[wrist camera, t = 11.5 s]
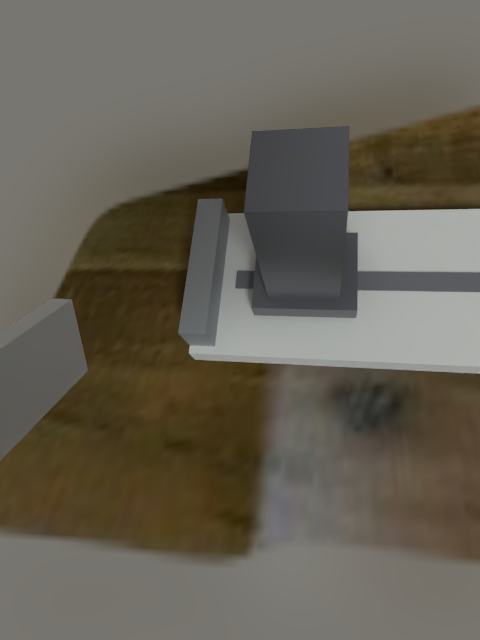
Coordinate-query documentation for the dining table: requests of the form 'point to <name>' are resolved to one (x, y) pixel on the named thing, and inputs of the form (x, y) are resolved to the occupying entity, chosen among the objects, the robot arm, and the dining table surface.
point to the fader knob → (301, 223)
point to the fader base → (372, 298)
